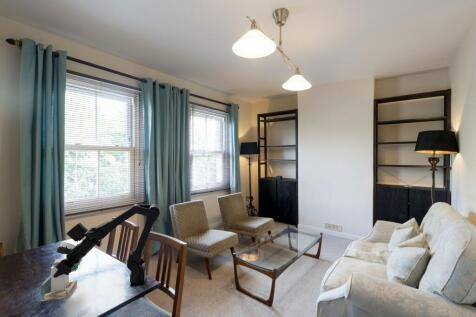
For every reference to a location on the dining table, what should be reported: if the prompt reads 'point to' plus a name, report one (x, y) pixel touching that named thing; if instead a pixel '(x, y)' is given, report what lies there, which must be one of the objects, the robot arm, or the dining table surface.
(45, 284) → the tray
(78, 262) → the digital multimeter
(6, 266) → the dining table surface
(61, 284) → the connector plug
